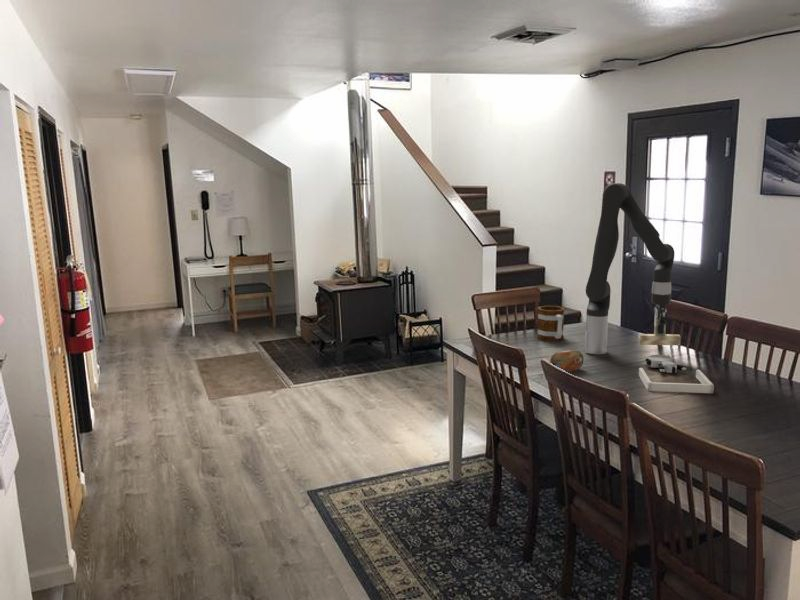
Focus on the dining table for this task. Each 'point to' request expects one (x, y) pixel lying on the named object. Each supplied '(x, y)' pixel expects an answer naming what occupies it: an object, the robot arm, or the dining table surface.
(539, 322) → the mug
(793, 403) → the dining table surface
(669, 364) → the robot toy
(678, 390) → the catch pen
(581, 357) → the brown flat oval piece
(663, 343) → the scraper
